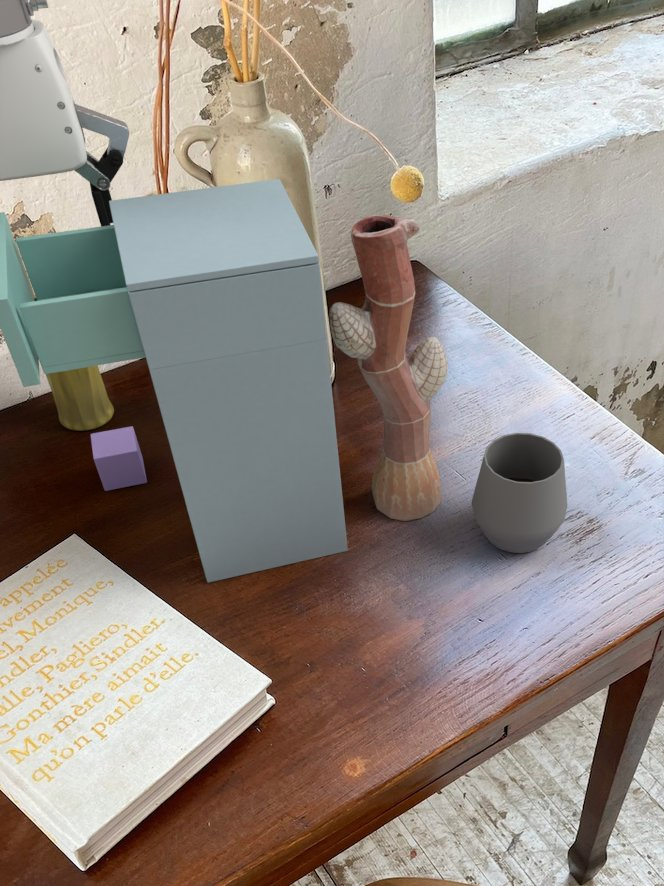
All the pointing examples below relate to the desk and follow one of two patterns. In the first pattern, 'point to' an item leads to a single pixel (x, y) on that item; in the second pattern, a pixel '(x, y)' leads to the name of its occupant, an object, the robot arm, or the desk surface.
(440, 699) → the desk surface
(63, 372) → the vase
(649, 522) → the desk surface
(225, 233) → the tall blue pedestal box
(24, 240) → the mint cabinet drawer
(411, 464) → the vase
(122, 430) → the lavender foam block
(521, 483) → the cup
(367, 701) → the desk surface
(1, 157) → the robot arm
